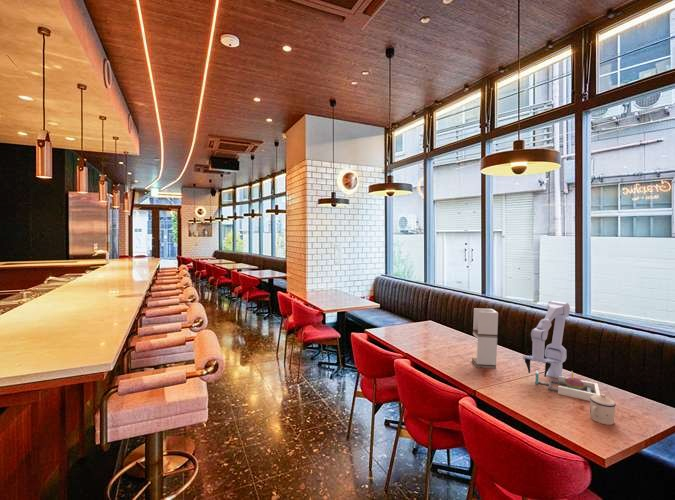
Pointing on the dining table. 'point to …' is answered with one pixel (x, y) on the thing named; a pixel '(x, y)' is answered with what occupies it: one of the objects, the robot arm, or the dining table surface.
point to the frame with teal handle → (556, 383)
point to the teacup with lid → (602, 409)
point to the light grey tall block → (485, 337)
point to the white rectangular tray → (578, 393)
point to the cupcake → (574, 383)
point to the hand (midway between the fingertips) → (537, 374)
